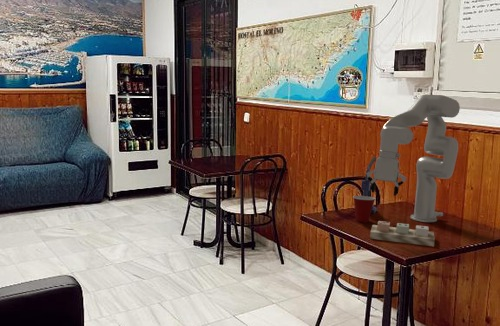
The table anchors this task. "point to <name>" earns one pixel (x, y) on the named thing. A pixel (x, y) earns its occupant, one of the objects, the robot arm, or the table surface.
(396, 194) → the robot arm
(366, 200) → the plastic cup
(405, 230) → the tile two
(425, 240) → the board
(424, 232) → the tile one
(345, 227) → the table surface
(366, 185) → the hand press
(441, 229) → the table surface
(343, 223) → the table surface
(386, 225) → the tile three
